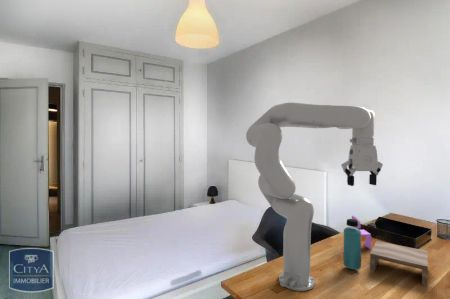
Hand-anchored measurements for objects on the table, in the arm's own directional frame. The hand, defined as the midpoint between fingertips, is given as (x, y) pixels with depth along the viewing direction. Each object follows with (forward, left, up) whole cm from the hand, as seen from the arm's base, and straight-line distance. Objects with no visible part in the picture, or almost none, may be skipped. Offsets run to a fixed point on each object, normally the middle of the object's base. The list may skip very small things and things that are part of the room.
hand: (361, 185), depth 106 cm
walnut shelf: (+8, -12, -34) cm, 37 cm away
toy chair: (+23, +5, -34) cm, 41 cm away
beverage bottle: (-3, +3, -34) cm, 34 cm away
